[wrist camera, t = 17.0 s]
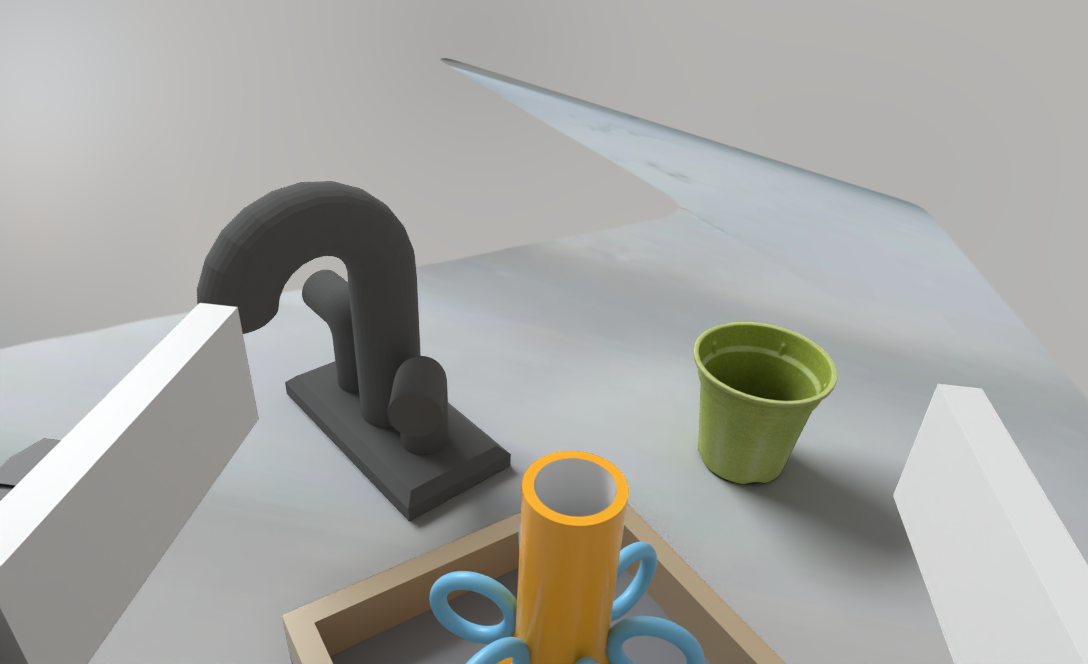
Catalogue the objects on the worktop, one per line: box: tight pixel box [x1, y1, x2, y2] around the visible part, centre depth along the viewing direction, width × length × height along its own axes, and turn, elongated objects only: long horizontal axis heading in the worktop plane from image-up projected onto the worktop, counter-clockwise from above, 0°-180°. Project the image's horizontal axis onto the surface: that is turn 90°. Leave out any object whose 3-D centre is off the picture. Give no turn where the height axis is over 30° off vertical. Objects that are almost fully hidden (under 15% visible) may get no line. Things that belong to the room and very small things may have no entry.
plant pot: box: [694, 322, 837, 484], centre depth 54 cm, size 9×9×9 cm
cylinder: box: [429, 451, 705, 664], centre depth 33 cm, size 12×10×15 cm
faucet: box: [197, 181, 511, 521], centre depth 50 cm, size 18×16×20 cm
